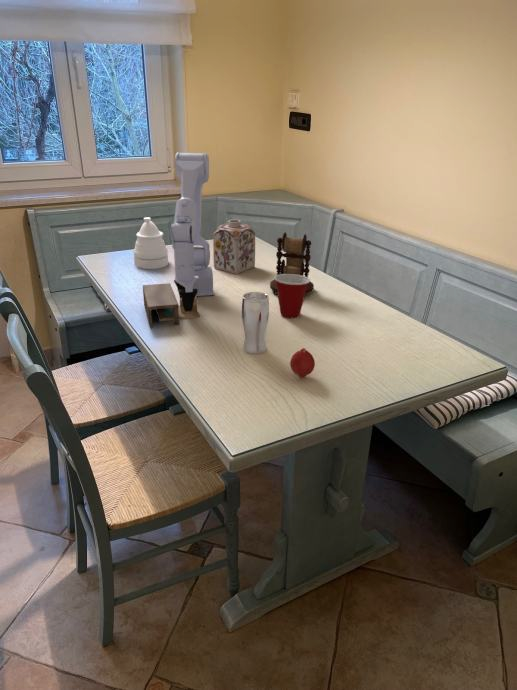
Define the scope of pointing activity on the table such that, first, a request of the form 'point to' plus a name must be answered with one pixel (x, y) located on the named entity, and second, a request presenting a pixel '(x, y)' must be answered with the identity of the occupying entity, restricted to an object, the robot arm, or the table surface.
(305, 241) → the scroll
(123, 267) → the table surface
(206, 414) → the table surface
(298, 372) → the onion
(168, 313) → the tray
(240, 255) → the decorative jar
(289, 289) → the plastic cup
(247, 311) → the beer glass
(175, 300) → the wooden caddy
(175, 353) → the table surface
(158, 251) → the honey pot
